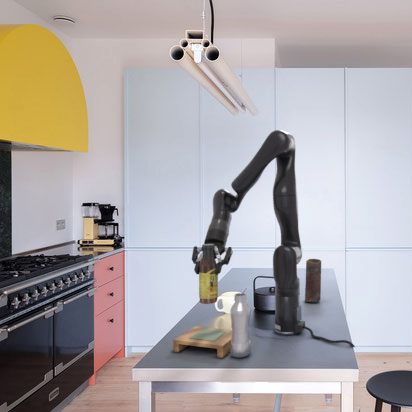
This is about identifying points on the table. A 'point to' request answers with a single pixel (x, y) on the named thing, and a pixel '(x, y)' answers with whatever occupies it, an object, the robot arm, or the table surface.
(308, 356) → the table surface
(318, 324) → the table surface
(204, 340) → the wooden stand
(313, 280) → the rusty brown cylinder
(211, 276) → the sauce bottle
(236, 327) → the plastic bottle
